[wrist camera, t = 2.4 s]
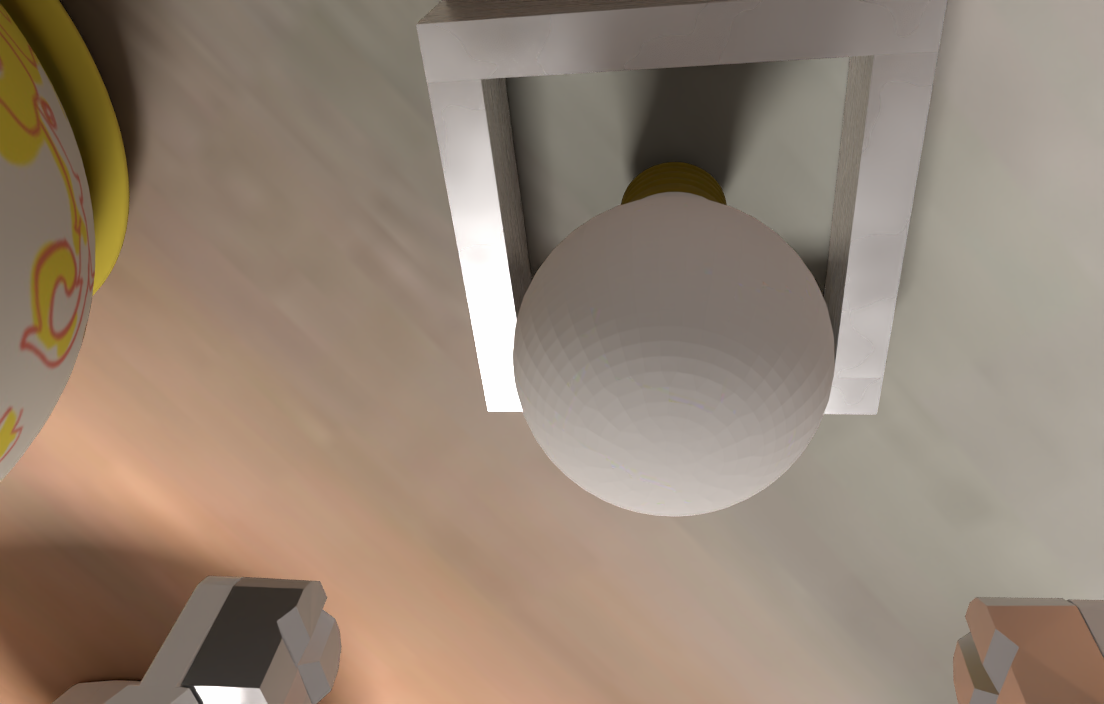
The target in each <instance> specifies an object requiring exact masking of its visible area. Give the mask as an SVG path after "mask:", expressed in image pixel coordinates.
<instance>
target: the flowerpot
mask: <svg viewBox="0 0 1104 704" xmlns="http://www.w3.org/2000/svg"><path fill="white" fill-rule="evenodd" d="M128 214H129V177H128V169H127V161H126V155H125V150H124V145H123V141H122V136H121V132H120V129H119V125H118V122H117V118H116V115H115V112H114V109H113V106H112V103H111V101H110V98H109V95H108V92H107V90H106V87H105V85H104V83H103V81H102V78H101V76H100V74H99V71H98V69H97V67H96V65H95V63H94V61H93V58H92V56H91V54H90V52H89V51H88V49H87V47H86V45H85V43H84V41H83V39H82V37H81V35H80V34H79V32H78V30H77V28H76V27H75V25H74V23H73V21H72V20H71V18H70V17H69V15H68V13H67V12H66V10H65V9H64V7H63V6H62V4H61V3H60V1H59V0H0V482H1V481H2V480H3V479H4V478H5V476H6V475H7V474H8V473H9V472H10V470H11V469H12V468H13V467H14V466H15V464H16V463H17V462H18V461H19V459H20V458H21V457H22V456H23V454H24V453H25V451H26V450H27V449H28V447H29V446H30V445H31V443H32V442H33V440H34V439H35V437H36V436H37V435H38V433H39V432H40V430H41V429H42V427H43V426H44V424H45V423H46V421H47V419H48V418H49V416H50V414H51V413H52V411H53V409H54V407H55V405H56V404H57V402H58V400H59V398H60V396H61V394H62V392H63V390H64V388H65V386H66V384H67V382H68V380H69V377H70V375H71V373H72V370H73V367H74V365H75V362H76V359H77V356H78V353H79V351H80V348H81V345H82V342H83V338H84V335H85V330H86V326H87V322H88V317H89V313H90V308H91V302H92V296H93V295H94V294H95V293H96V291H97V290H98V289H99V288H100V287H101V286H102V284H103V283H104V282H105V280H106V279H107V277H108V276H109V274H110V273H111V271H112V269H113V267H114V265H115V263H116V261H117V259H118V256H119V253H120V251H121V248H122V245H123V241H124V237H125V233H126V229H127V222H128Z"/></svg>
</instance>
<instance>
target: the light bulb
mask: <svg viewBox="0 0 1104 704" xmlns="http://www.w3.org/2000/svg"><path fill="white" fill-rule="evenodd" d="M512 358H513V371H514V380H515V387H516V391H517V395H518V398H519V401H520V405H521V408H522V411H523V415H524V417H525V419H526V421H527V423H528V425H529V427H530V429H531V431H532V433H533V435H534V437H535V439H536V440H537V442H538V443H539V445H540V446H541V448H542V449H543V450H544V452H545V453H546V454H547V456H548V457H549V458H550V460H551V461H552V462H553V463H554V464H555V465H556V466H557V467H558V468H559V469H560V470H561V471H562V472H563V473H564V474H565V475H566V476H567V477H568V478H570V479H571V480H572V481H573V482H575V483H576V484H577V485H579V486H580V487H581V488H583V489H584V490H586V491H587V492H589V493H591V494H593V495H595V496H596V497H598V498H600V499H602V500H604V501H606V502H608V503H611V504H613V505H615V506H618V507H620V508H624V509H627V510H631V511H634V512H638V513H644V514H650V515H657V516H692V515H698V514H704V513H710V512H713V511H717V510H720V509H724V508H727V507H729V506H732V505H734V504H737V503H739V502H741V501H744V500H746V499H748V498H750V497H751V496H753V495H755V494H757V493H758V492H760V491H762V490H763V489H765V488H766V487H768V486H769V485H770V484H771V483H773V482H774V481H775V480H776V479H778V478H779V477H780V476H781V475H783V474H784V473H785V472H786V471H787V470H788V469H789V468H790V466H791V465H792V464H793V463H794V462H795V461H796V460H797V459H798V458H799V456H800V455H801V454H802V453H803V451H804V450H805V448H806V447H807V445H808V444H809V442H810V440H811V439H812V437H813V436H814V434H815V432H816V431H817V429H818V427H819V424H820V422H821V419H822V417H823V414H824V412H825V409H826V407H827V404H828V401H829V397H830V393H831V387H832V382H833V376H834V367H835V360H834V335H833V330H832V326H831V321H830V317H829V313H828V308H827V306H826V303H825V300H824V298H823V296H822V294H821V291H820V289H819V287H818V285H817V282H816V280H815V279H814V277H813V275H812V274H811V272H810V271H809V269H808V268H807V266H806V265H805V264H804V262H803V261H802V259H801V258H800V257H799V255H798V254H797V253H796V251H794V250H793V249H792V248H791V247H790V246H789V245H788V244H787V243H786V242H785V241H784V240H783V239H782V238H781V237H780V236H779V235H778V234H777V233H776V232H775V231H773V230H772V229H770V228H769V227H767V226H766V225H764V224H763V223H762V222H760V221H759V220H757V219H756V218H754V217H752V216H750V215H748V214H746V213H744V212H742V211H739V210H737V209H735V208H733V207H730V206H727V205H726V200H725V196H724V193H723V191H722V189H721V187H720V185H719V184H718V182H717V181H716V180H715V179H714V178H713V177H712V176H711V175H710V174H709V173H707V172H706V171H705V170H703V169H701V168H699V167H697V166H695V165H691V164H688V163H682V162H667V163H661V164H658V165H655V166H652V167H650V168H648V169H646V170H645V171H643V172H642V173H640V174H639V175H638V176H637V177H636V178H635V179H633V181H632V182H631V183H630V184H629V186H628V187H627V189H626V191H625V193H624V196H623V199H622V203H621V205H620V206H616V207H614V208H612V209H610V210H608V211H606V212H604V213H601V214H599V215H597V216H595V217H593V218H592V219H590V220H589V221H587V222H586V223H584V224H583V225H581V226H580V227H578V228H577V229H575V230H574V231H573V232H572V233H570V234H569V235H568V236H567V237H566V238H565V239H564V240H563V241H562V242H561V243H560V244H559V245H558V246H557V247H555V248H554V249H553V251H552V252H551V253H550V255H549V256H548V257H547V259H546V260H545V261H544V263H543V264H542V265H541V267H540V268H539V269H538V271H537V272H536V274H535V276H534V278H533V280H532V282H531V284H530V286H529V288H528V290H527V292H526V293H525V296H524V298H523V301H522V304H521V307H520V311H519V314H518V318H517V321H516V326H515V332H514V343H513V355H512Z"/></svg>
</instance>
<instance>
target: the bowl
mask: <svg viewBox="0 0 1104 704" xmlns="http://www.w3.org/2000/svg"><path fill="white" fill-rule="evenodd" d="M140 682H141V681H126V680H112V681H100V682H89V683H78V684H76V685H74V686H72V687H71V688H70V689H68V690H67V691H66V692H65V693H64V694H62V695H61V696H60V697H59V698H57V699H56V700H55V701H54V702H52V703H51V704H104V703H105V702H106V701H107V700H109V699H110V698H111V697H113V696H114V695H115V694H117V693H118V692H119V691H121V690H122V689H123V688H125V687H126V686H127V685H139V684H140Z"/></svg>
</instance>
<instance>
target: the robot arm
mask: <svg viewBox="0 0 1104 704" xmlns="http://www.w3.org/2000/svg"><path fill="white" fill-rule="evenodd" d="M326 599H327V596H326V594H325V592H324V589H323V587H322V585H321V583H320V581H306V580H288V579H270V578H252V577H228V576H208V577H206V578H205V579H204V580H203V581H202V582H200V583H199V584H198V585H197V586H196V588H195V590H194V591H193V593H192V595H191V596H190V598H189V600H188V602H187V603H186V605H185V607H184V608H183V610H182V612H181V614H180V615H179V617H178V619H177V620H176V622H175V624H174V626H173V627H172V629H171V631H170V632H169V634H168V636H167V638H166V639H165V641H164V643H163V644H162V646H161V648H160V650H159V651H158V653H157V655H156V657H155V658H154V660H153V662H152V663H151V665H150V667H149V669H148V670H147V672H146V674H145V675H144V677H143V679H142V681H141V682H140V684H139V685H127V686H126V687H125V688H123V689H122V690H121V691H119V692H118V693H117V694H115V695H114V696H113V697H111V698H110V699H109V700H107V701H106V702H105V703H104V704H317V703H318V702H319V701H320V700H321V699H322V698H323V697H325V696H326V695H327V694H328V693H329V692H330V691H331V690H332V687H333V684H334V681H335V678H336V675H337V672H338V668H339V661H340V653H341V639H340V631H339V628H338V625H337V622H336V620H335V618H333V617H332V616H331V615H329V614H328V613H327V612H325V611H324V610H323V607H324V604H325V602H326ZM965 618H966V620H967V623H968V626H969V629H970V632H969V633H968V634H966V635H965V636H963V637H962V638H960V639H959V640H958V641H957V645H956V649H955V653H954V657H953V677H954V685H955V690H956V696H957V700H958V703H959V704H1104V600H1065V599H1063V598H1006V597H976V598H975V599H974V600H972V601H971V602H970V603H969V606H968V609H967V612H966V615H965Z"/></svg>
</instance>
